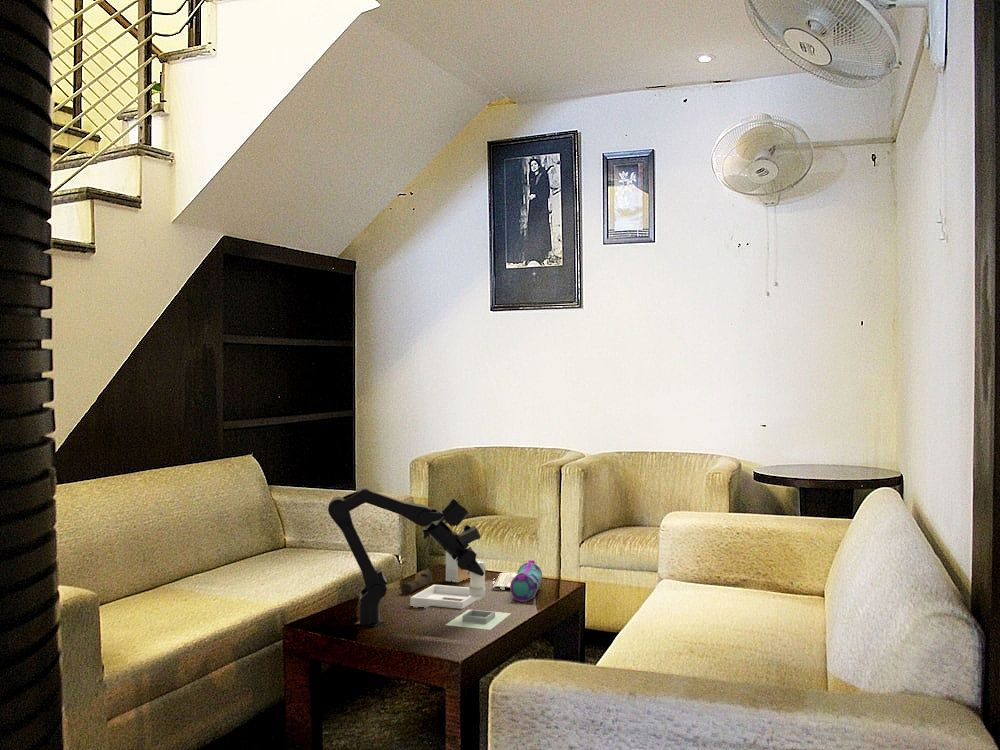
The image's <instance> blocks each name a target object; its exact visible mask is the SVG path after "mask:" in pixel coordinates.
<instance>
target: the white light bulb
mask: <svg viewBox="0 0 1000 750" xmlns="http://www.w3.org/2000/svg"><path fill="white" fill-rule="evenodd" d="M476 562H477V563H478V565H479V566H480V567H481V569H482V570H483V572H484V575H483V576H480V575H478V574H475V573H473V572H470V579H469V582H470V585H469V588H470V596H473V597H482V596H486V578H485V577H486V561H485V560H481V559H476Z"/></svg>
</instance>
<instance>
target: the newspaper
mask: <svg viewBox="0 0 1000 750" xmlns="http://www.w3.org/2000/svg"><path fill="white" fill-rule="evenodd" d="M517 573H518V572H517ZM517 573H515V572H500V573H499V574H498V575H499V576H498V578H497V580H496V582H495V581H492V584H494V583H495V584H494V586H493V588H492V587H491V589H492V590H493V591H496V590H497V591H501V590H500V587H506V588H510V584H511V581H512V579H513V578H514V577H515V576H516V575H517ZM494 579H495V578H493V580H494Z"/></svg>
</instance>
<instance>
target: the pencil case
mask: <svg viewBox="0 0 1000 750" xmlns="http://www.w3.org/2000/svg"><path fill="white" fill-rule="evenodd" d="M542 577H543V572H542V569H541V568H540V567H539V565H537V564H536V563H535V560H531V559H530V560H529V559H528V562H525V563H523V564H522V565H520V566H519V568H518V569H517V575H516V576H515V577H514V578H513V579H512V581H511V584H510V589H509V590H510V593H511V595H512V597H513V599H515V600H516V601H517V602H519V603H526V602H528V601H530V600H532V599H533V598H535V596H536V595H537V592H538V590H539V588H540V585H541V582H542V580H543V579H542Z"/></svg>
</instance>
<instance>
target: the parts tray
mask: <svg viewBox="0 0 1000 750" xmlns="http://www.w3.org/2000/svg"><path fill="white" fill-rule="evenodd" d="M445 598H448V599H445ZM482 598H483V599H484V598H485V597H484V596H482V597H473V596H470V587H469V586H467V587H466V586H457V585H456V586H455V585H444V584H432V585H431V586H430V585H429V586H427V588H425V589H423V590H421V591H419V592H417V593H416V594H414V595H412V596H410V598H409V599H410V601H409V603H410V605H409V607H410V606H413V607H412V608H418V607H424V608H423V609H427V608H429V607H430V606H431V607H438V608H439V607H441V608H450V609H451V608H452V609H460V610H463V609H465V608H466V607H468V606H469V605H471V604H473V603H474V602H475V601H481V600H483V599H482ZM453 599H460V600H461V601H460V600H453Z"/></svg>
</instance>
